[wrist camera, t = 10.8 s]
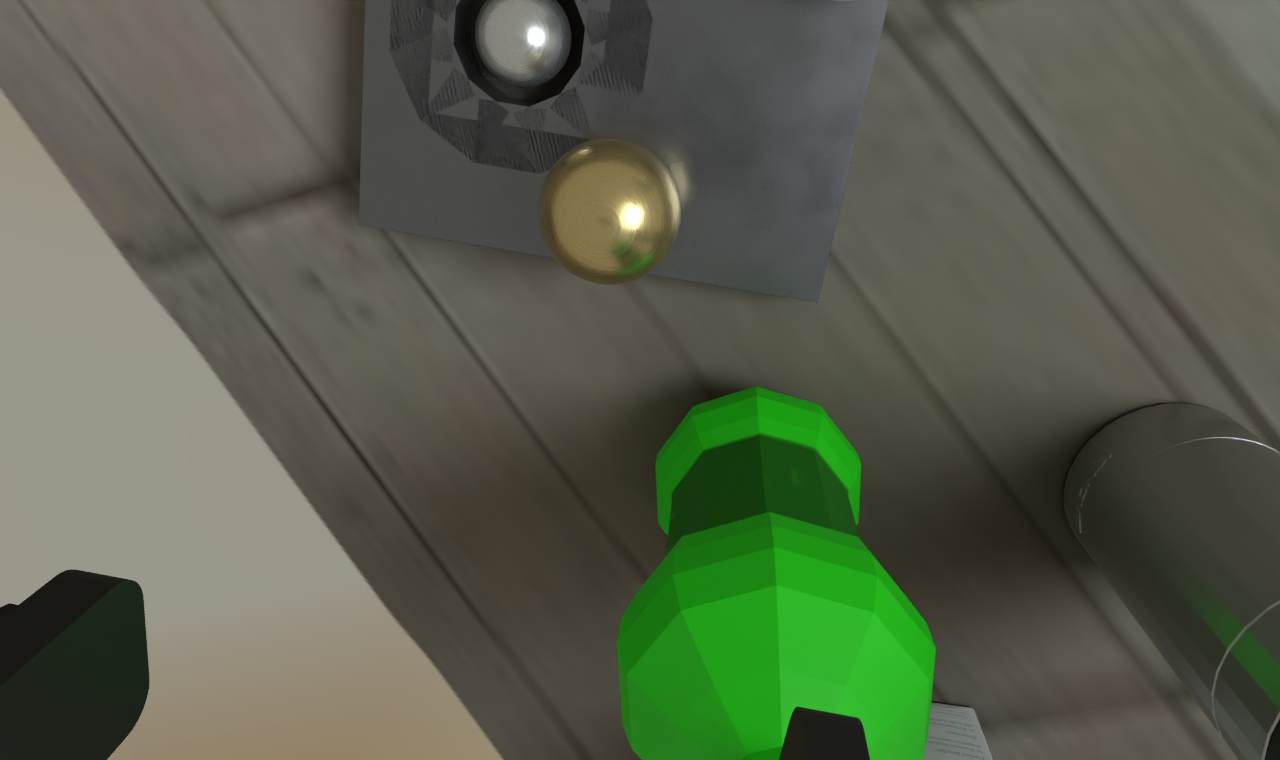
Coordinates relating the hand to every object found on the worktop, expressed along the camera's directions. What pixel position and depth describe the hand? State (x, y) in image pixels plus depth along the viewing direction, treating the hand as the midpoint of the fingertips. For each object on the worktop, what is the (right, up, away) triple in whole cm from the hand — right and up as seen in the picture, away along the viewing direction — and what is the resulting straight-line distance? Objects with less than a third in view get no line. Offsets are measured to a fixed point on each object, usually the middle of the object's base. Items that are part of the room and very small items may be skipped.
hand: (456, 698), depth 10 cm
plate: (+1, +18, +27) cm, 33 cm away
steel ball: (-3, +18, +25) cm, 31 cm away
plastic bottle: (+8, 0, +34) cm, 35 cm away
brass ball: (+1, +11, +24) cm, 27 cm away
